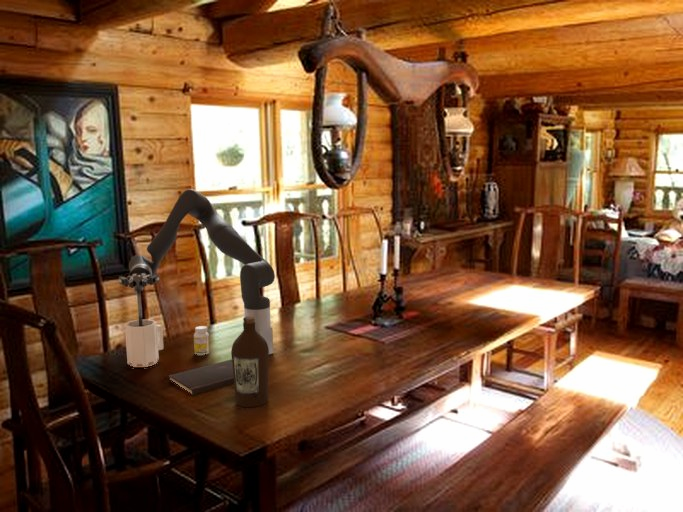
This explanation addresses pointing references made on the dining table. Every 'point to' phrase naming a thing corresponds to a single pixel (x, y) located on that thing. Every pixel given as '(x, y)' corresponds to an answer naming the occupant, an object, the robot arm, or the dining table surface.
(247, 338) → the olive oil
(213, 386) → the hardcover book
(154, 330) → the octagonal white mug
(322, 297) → the dining table surface
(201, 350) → the supplement bottle
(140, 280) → the plunger
